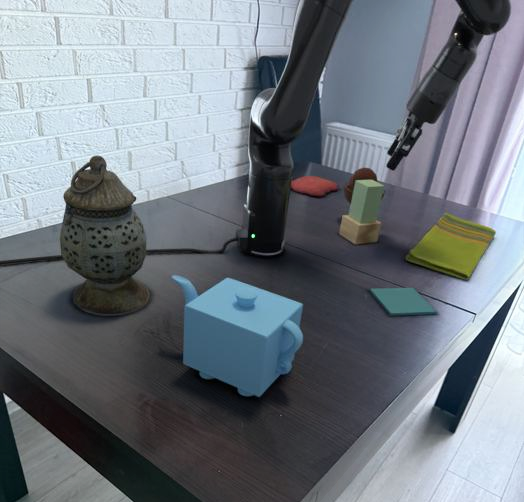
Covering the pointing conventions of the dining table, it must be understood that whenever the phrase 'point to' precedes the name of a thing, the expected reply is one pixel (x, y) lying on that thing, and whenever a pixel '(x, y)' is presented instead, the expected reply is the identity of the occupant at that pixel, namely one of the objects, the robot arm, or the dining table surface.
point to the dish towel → (452, 246)
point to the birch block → (359, 230)
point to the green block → (366, 201)
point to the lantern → (103, 241)
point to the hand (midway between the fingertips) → (390, 161)
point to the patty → (313, 186)
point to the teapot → (240, 334)
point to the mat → (402, 301)
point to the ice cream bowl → (359, 175)
